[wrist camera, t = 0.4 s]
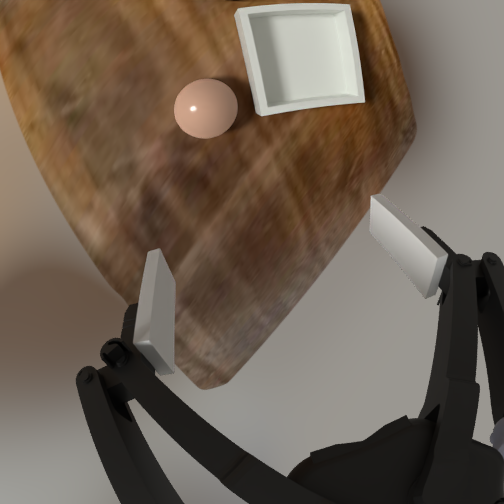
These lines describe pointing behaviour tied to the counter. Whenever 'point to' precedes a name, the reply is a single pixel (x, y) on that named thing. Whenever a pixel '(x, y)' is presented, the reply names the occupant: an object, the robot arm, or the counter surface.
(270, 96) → the white square tray
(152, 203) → the counter surface
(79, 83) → the counter surface
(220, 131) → the pink shiny round part
